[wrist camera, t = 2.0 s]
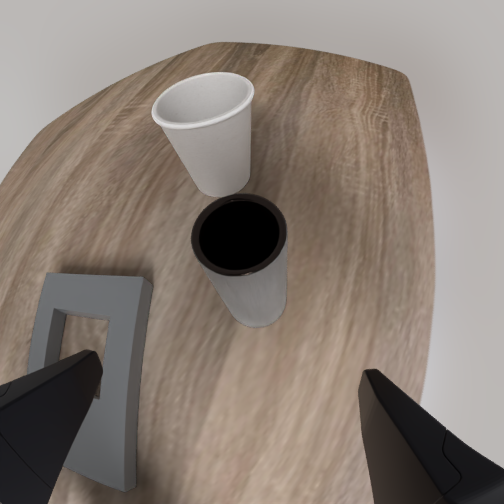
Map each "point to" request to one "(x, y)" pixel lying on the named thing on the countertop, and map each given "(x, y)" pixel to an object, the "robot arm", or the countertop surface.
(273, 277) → the gray tube
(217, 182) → the dixie cup
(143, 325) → the socket board
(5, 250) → the countertop surface
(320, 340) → the countertop surface
